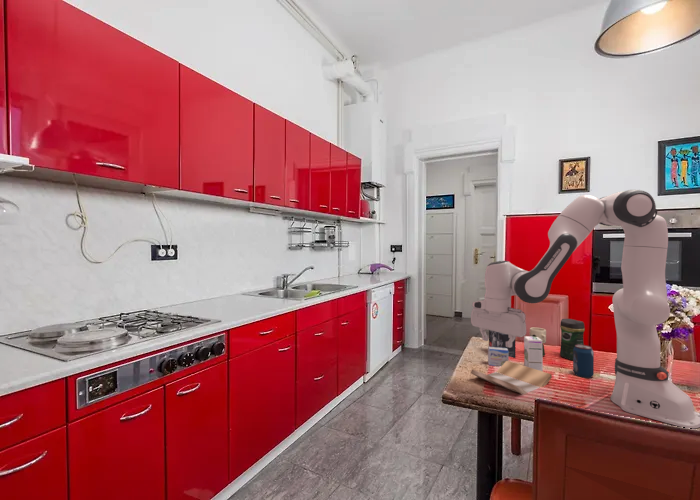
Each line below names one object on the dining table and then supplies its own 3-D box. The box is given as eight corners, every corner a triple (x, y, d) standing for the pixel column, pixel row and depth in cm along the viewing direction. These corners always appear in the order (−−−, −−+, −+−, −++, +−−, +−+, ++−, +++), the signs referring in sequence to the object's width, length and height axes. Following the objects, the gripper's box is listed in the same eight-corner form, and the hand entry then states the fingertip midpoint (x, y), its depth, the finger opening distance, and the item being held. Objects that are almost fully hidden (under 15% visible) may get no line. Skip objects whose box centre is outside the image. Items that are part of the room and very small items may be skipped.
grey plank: (540, 391, 122) (540, 387, 122) (528, 396, 118) (528, 392, 118) (495, 375, 138) (495, 371, 138) (483, 379, 133) (483, 375, 133)
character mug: (523, 352, 169) (524, 326, 169) (537, 351, 170) (537, 326, 170) (538, 359, 158) (538, 331, 158) (552, 358, 159) (552, 331, 159)
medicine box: (488, 368, 146) (488, 348, 146) (487, 365, 150) (487, 345, 150) (508, 370, 143) (508, 350, 143) (507, 367, 148) (507, 347, 147)
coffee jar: (588, 360, 156) (588, 321, 156) (574, 362, 154) (575, 322, 154) (569, 354, 166) (569, 317, 166) (556, 355, 163) (557, 317, 163)
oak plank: (497, 374, 138) (496, 371, 138) (507, 363, 142) (506, 360, 142) (541, 390, 123) (540, 387, 122) (552, 377, 127) (551, 374, 126)
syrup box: (543, 375, 138) (543, 340, 138) (527, 374, 139) (527, 339, 139) (538, 370, 144) (538, 336, 144) (523, 369, 145) (523, 335, 145)
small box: (488, 351, 171) (488, 327, 171) (500, 350, 172) (501, 327, 172) (502, 359, 158) (502, 334, 158) (516, 359, 158) (516, 333, 158)
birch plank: (526, 396, 117) (527, 392, 118) (515, 389, 114) (516, 385, 114) (481, 379, 133) (483, 376, 133) (470, 373, 129) (471, 369, 129)
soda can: (596, 376, 137) (597, 347, 137) (588, 379, 133) (588, 349, 133) (578, 371, 143) (578, 343, 143) (569, 374, 139) (569, 345, 139)
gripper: (530, 309, 114) (529, 349, 114) (479, 300, 132) (478, 336, 132) (519, 311, 111) (519, 352, 111) (468, 302, 128) (468, 338, 128)
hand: (496, 343), depth 122 cm, fingers open, 8 cm apart
